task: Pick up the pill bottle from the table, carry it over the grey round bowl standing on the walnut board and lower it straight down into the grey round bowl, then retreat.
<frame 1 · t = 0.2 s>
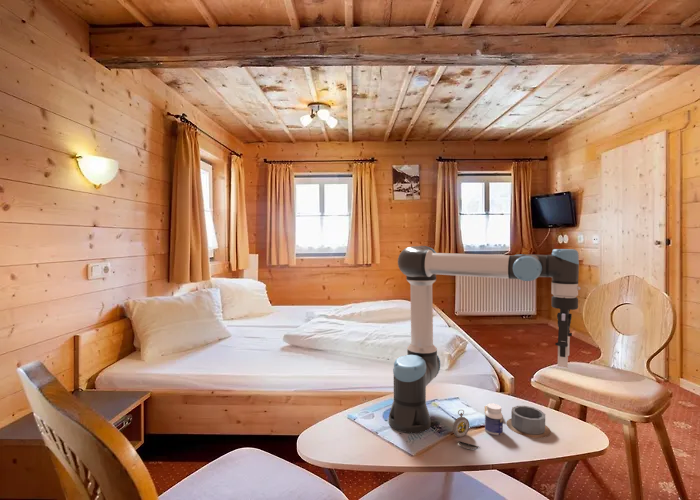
hand: (563, 360, 119), 27 cm above the table, fingers open, 13 cm apart
grey round bowl: (528, 427, 127), resting on board
pocket watch: (466, 443, 120), on the table
pill bottle: (493, 435, 125), on the table
oak block: (492, 420, 135), on the table
board: (528, 430, 128), on the table
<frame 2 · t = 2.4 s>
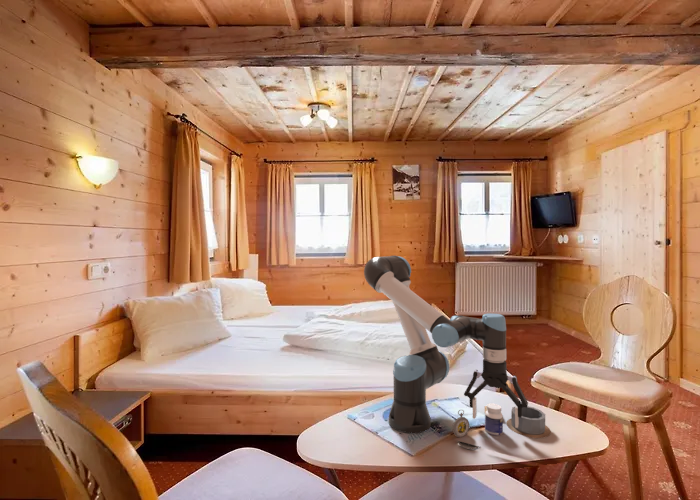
hand: (495, 421, 124), 5 cm above the table, fingers open, 13 cm apart
nothing on the table moved.
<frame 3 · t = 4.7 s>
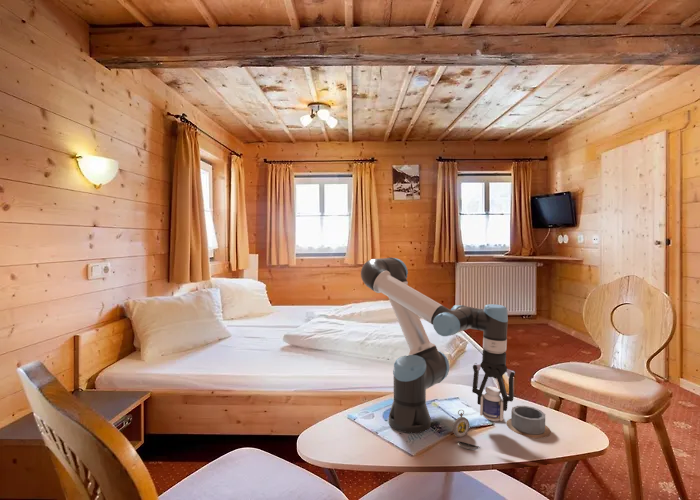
hand: (491, 416, 125), 6 cm above the table, fingers closed on pill bottle, 6 cm apart
pill bottle: (491, 417, 125), point 6 cm above the table, touching gripper
everything else where it was.
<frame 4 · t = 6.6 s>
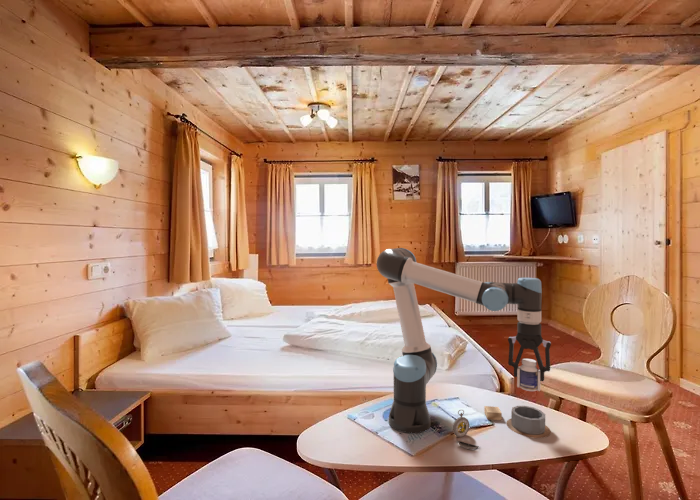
hand: (528, 387, 127), 15 cm above the table, fingers closed on pill bottle, 6 cm apart
pill bottle: (528, 389, 127), point 15 cm above the table, touching gripper
everything else where it was.
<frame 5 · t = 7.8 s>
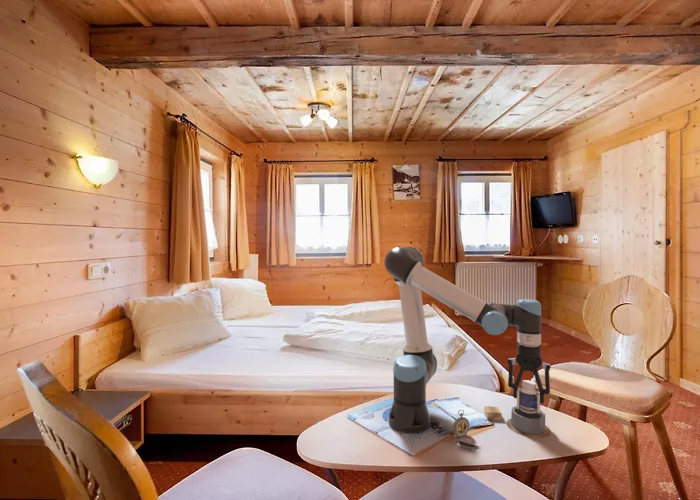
hand: (528, 409, 127), 7 cm above the table, fingers closed on pill bottle, 6 cm apart
pill bottle: (528, 410, 127), point 7 cm above the table, touching gripper
everything else where it was.
when the fingers open (7 cm above the table, at t = 8.7 s): pill bottle drops 4 cm, resting on grey round bowl.
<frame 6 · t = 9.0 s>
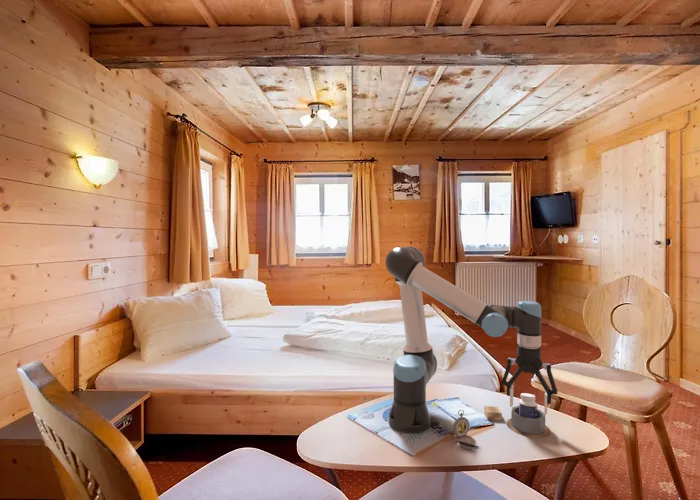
hand: (528, 408, 127), 8 cm above the table, fingers open, 10 cm apart
pill bottle: (528, 424, 127), point 2 cm above the table, touching grey round bowl
everything else where it was.
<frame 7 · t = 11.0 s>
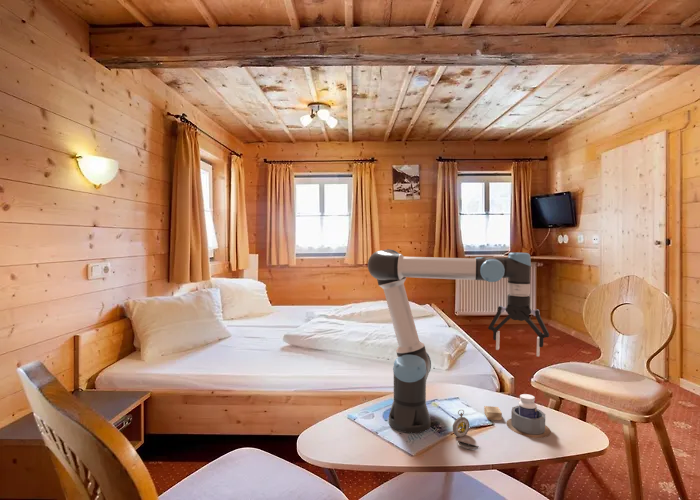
hand: (517, 352, 133), 26 cm above the table, fingers open, 13 cm apart
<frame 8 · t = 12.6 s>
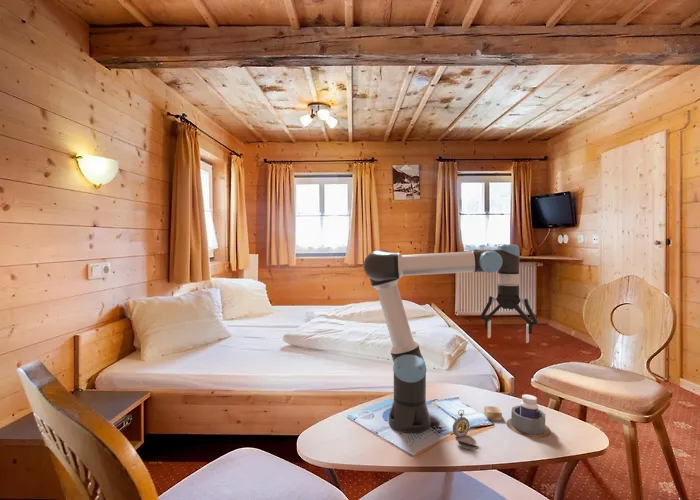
hand: (507, 339, 140), 29 cm above the table, fingers open, 13 cm apart
nothing on the table moved.
at the end: pill bottle 0.2 cm from the grey round bowl (horizontally); pill bottle tilted 1°; pill bottle touching grey round bowl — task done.
